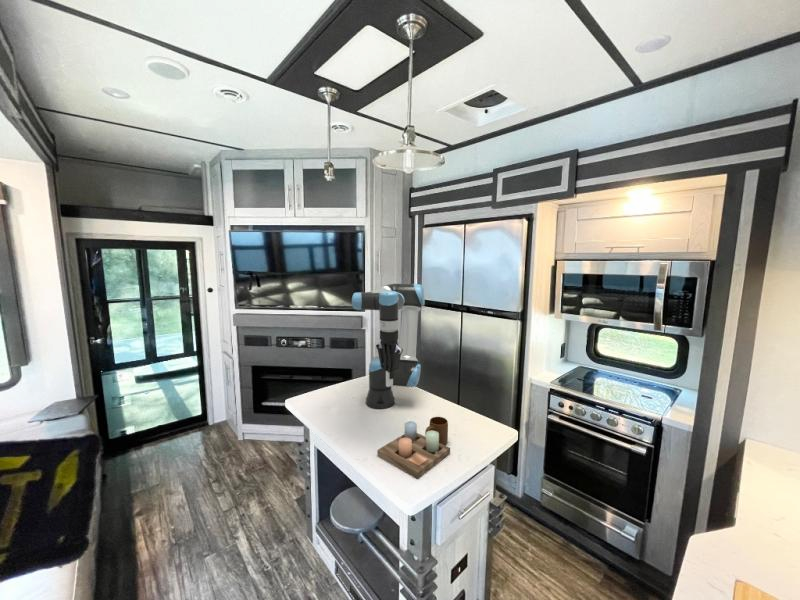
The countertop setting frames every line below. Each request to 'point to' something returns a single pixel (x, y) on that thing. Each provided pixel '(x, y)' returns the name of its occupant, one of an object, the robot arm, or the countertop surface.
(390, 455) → the wooden compartment tray
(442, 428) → the mug
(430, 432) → the pale green rounded cylinder
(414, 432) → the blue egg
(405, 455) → the peach rounded cylinder
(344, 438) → the countertop surface
